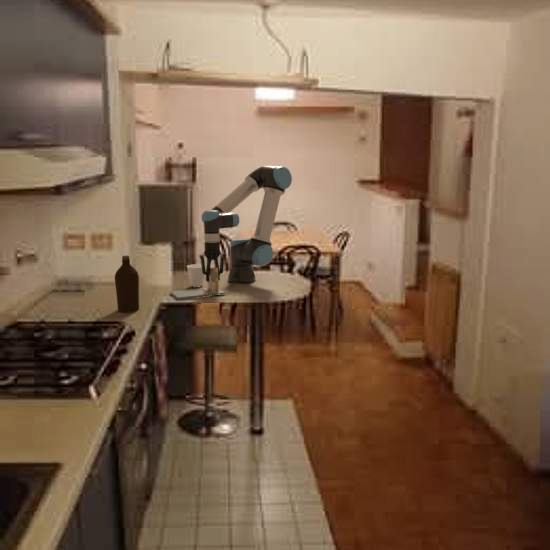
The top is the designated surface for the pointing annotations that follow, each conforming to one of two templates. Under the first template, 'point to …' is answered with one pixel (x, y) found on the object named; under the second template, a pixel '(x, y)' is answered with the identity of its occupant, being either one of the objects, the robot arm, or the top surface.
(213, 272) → the stub
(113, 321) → the top surface
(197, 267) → the cup
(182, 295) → the board
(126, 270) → the olive oil
